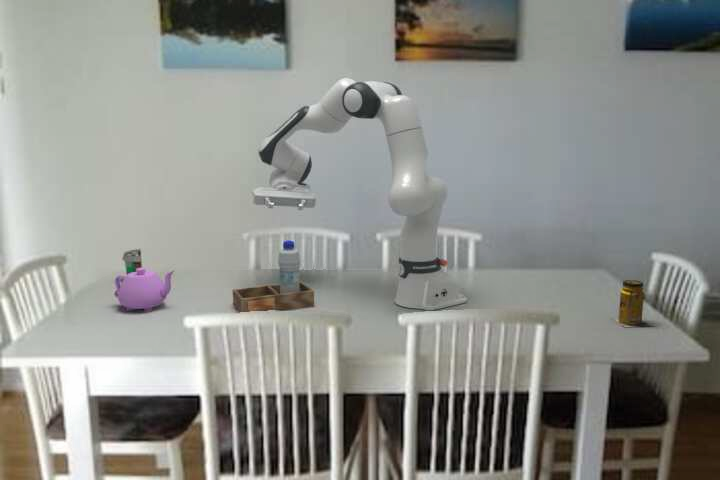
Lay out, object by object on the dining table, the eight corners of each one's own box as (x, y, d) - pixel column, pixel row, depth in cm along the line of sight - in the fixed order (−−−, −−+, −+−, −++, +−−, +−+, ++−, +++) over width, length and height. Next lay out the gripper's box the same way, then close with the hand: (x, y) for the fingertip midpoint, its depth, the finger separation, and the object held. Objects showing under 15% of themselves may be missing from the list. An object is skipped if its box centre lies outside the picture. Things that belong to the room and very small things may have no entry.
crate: (302, 296, 211) (301, 281, 210) (314, 306, 201) (314, 291, 200) (233, 305, 203) (232, 289, 202) (242, 316, 192) (241, 300, 191)
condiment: (612, 319, 188) (615, 278, 185) (640, 318, 189) (644, 278, 186) (624, 327, 181) (628, 285, 178) (654, 326, 182) (658, 284, 179)
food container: (124, 276, 237) (122, 249, 235) (142, 275, 238) (140, 248, 236) (123, 285, 225) (121, 257, 223) (142, 284, 227) (140, 256, 225)
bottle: (297, 307, 200) (295, 243, 196) (276, 306, 201) (274, 242, 197) (303, 301, 207) (302, 238, 202) (283, 299, 208) (281, 238, 204)
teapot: (186, 301, 207) (184, 263, 205) (167, 315, 193) (165, 275, 191) (126, 299, 210) (123, 262, 207) (103, 312, 196) (100, 273, 193)
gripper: (252, 180, 217) (253, 195, 205) (314, 184, 221) (318, 199, 209) (251, 198, 220) (252, 214, 207) (312, 202, 224) (316, 217, 211)
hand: (285, 207), depth 208 cm, fingers open, 8 cm apart
